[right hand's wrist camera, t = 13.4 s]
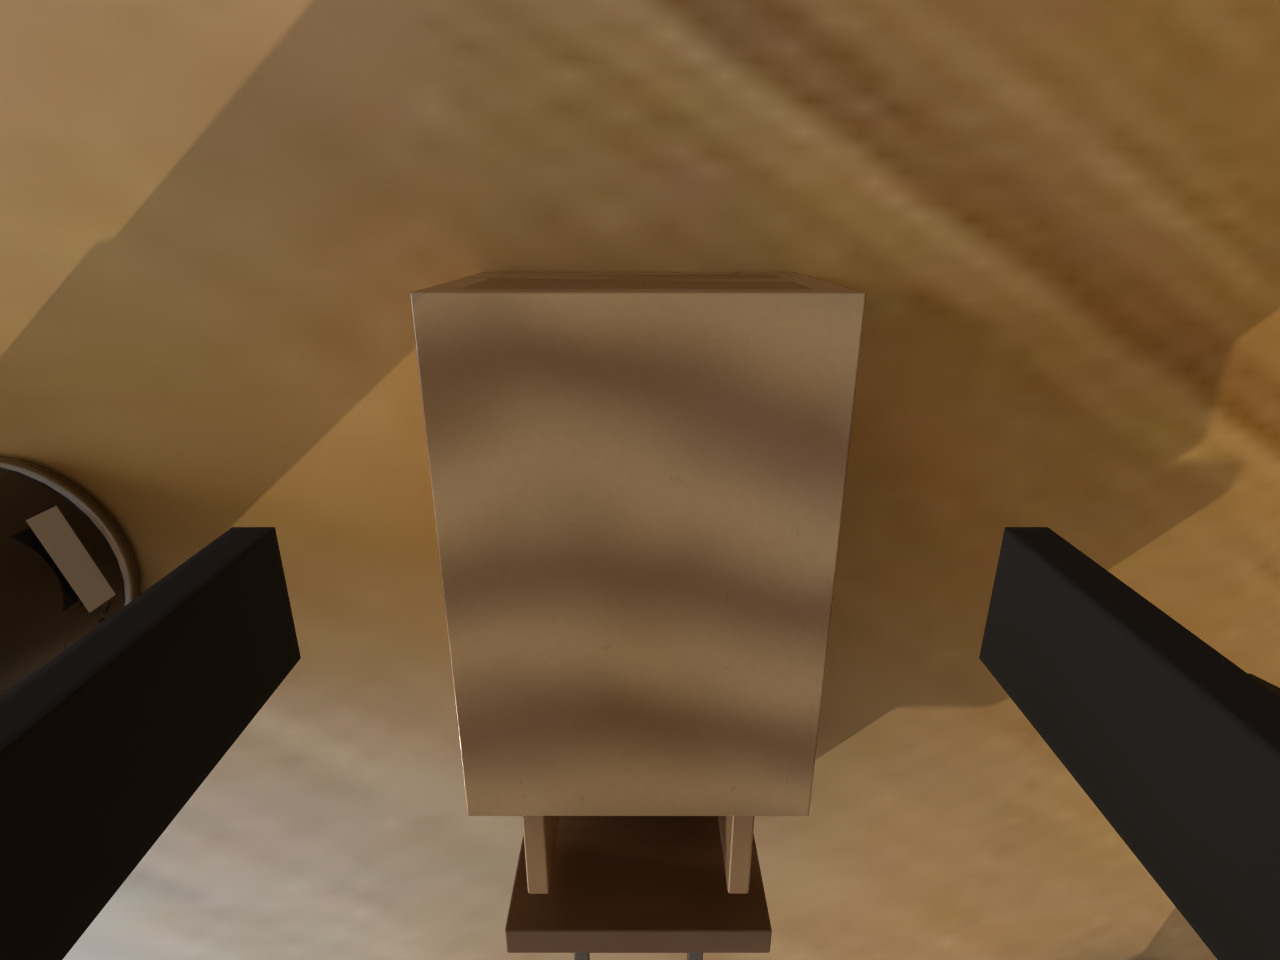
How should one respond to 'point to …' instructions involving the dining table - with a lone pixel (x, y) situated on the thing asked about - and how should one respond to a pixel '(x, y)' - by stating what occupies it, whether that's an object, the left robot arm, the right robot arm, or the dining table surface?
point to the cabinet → (638, 532)
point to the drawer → (638, 886)
